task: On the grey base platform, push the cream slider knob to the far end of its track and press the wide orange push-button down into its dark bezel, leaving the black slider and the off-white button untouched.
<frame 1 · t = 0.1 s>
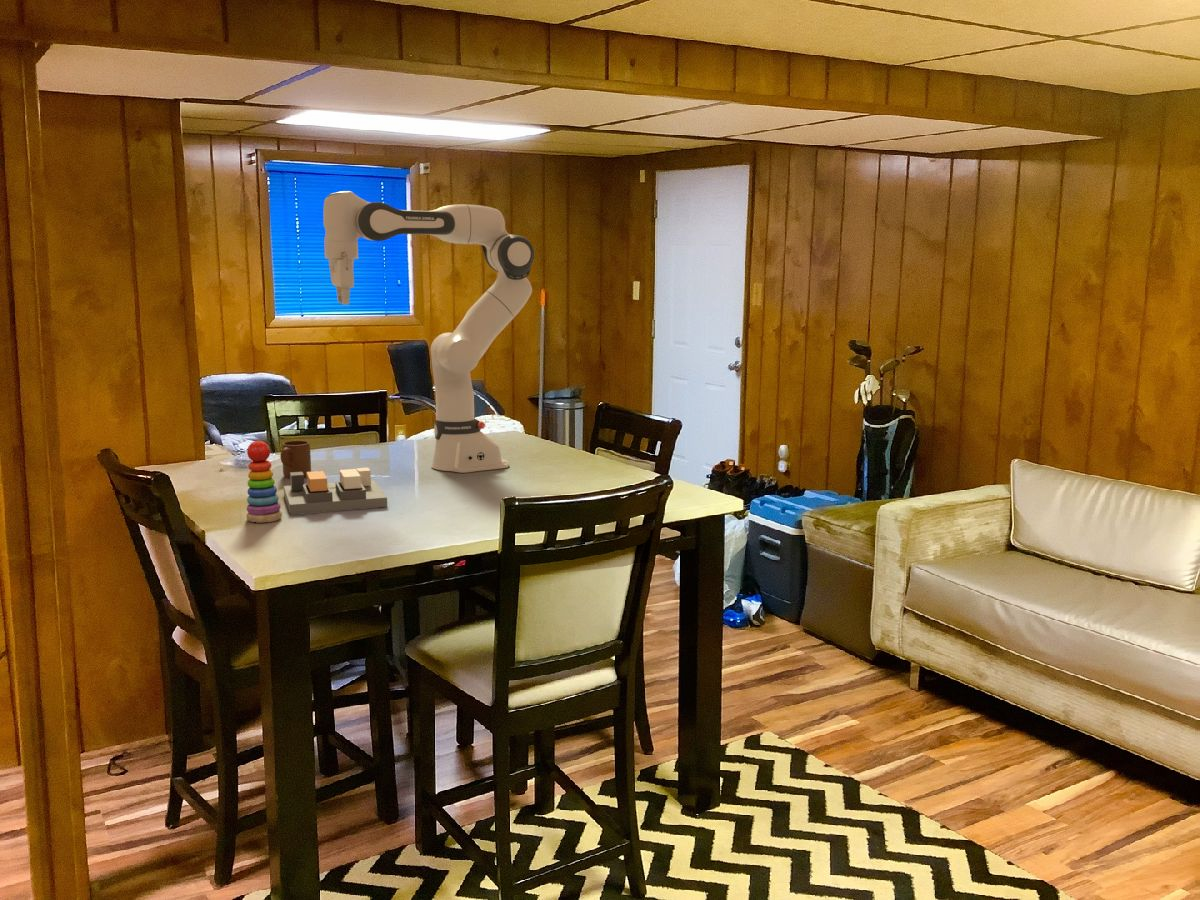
hand: (343, 303, 279), 48 cm above the table, fingers open, 8 cm apart
button c: (316, 481, 249), point 6 cm above the table, slide at 0.0 cm
slider b: (297, 481, 256), point 5 cm above the table, slide at 0.0 cm
stacking toy: (264, 520, 238), on the table
mug: (293, 478, 282), on the table
grey base platform: (334, 501, 256), on the table
slider a: (363, 476, 262), point 5 cm above the table, slide at 0.0 cm
button d: (350, 478, 251), point 6 cm above the table, slide at 0.0 cm
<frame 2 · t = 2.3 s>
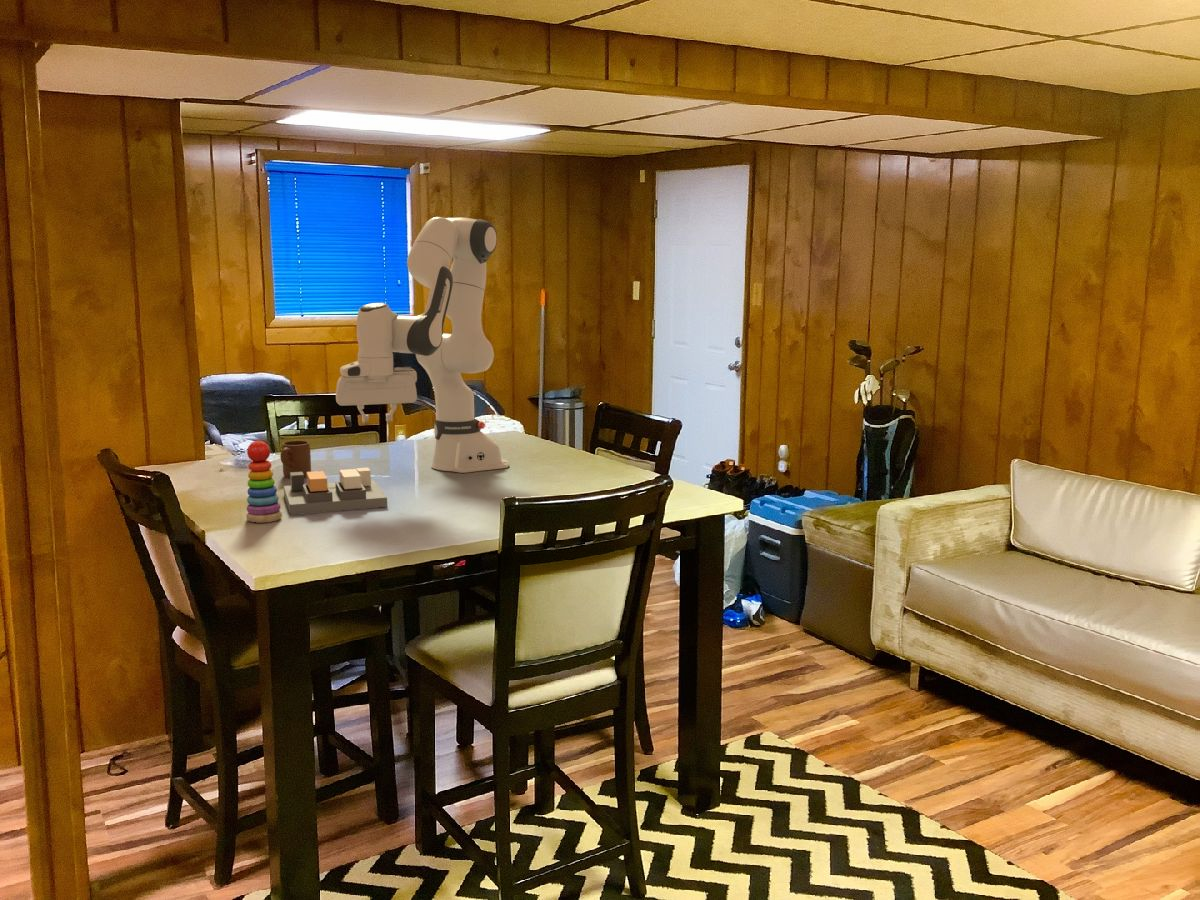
hand: (377, 421, 260), 19 cm above the table, fingers open, 5 cm apart
nothing on the table moved.
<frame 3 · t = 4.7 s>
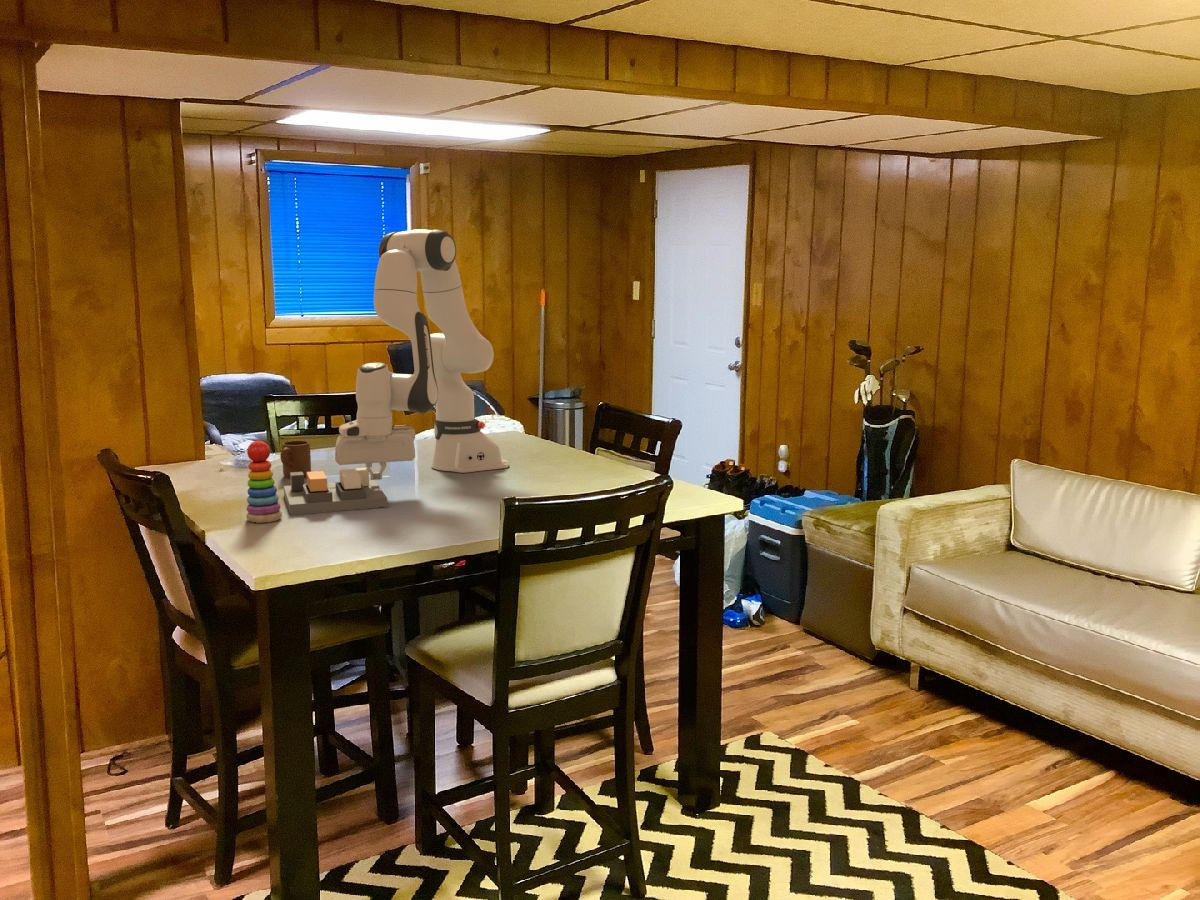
hand: (376, 479, 263), 4 cm above the table, fingers closed
slider a: (362, 477, 261), point 5 cm above the table, slide at 0.4 cm, touching gripper
everything else where it was.
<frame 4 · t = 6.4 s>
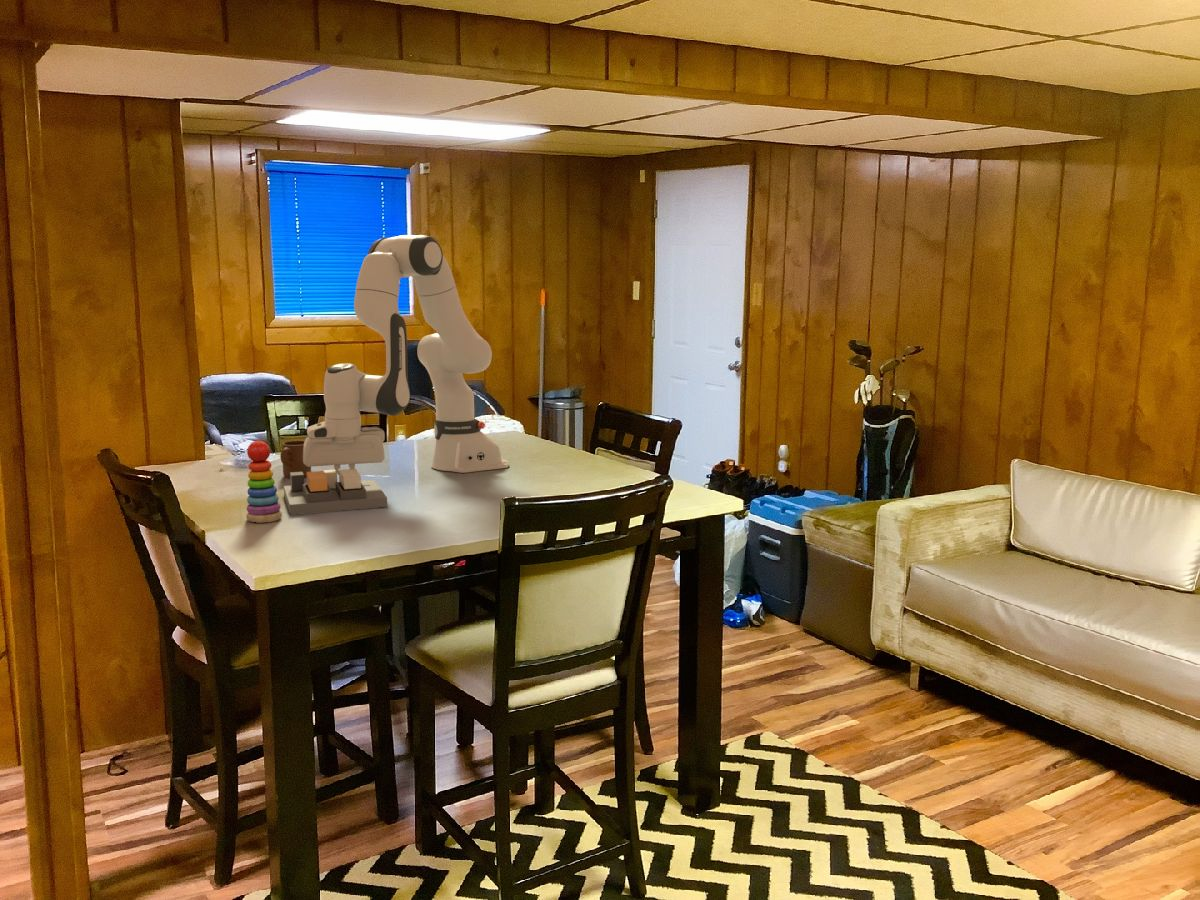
hand: (344, 481, 260), 4 cm above the table, fingers closed
slider a: (330, 479, 259), point 5 cm above the table, slide at 8.3 cm, touching gripper
everything else where it was.
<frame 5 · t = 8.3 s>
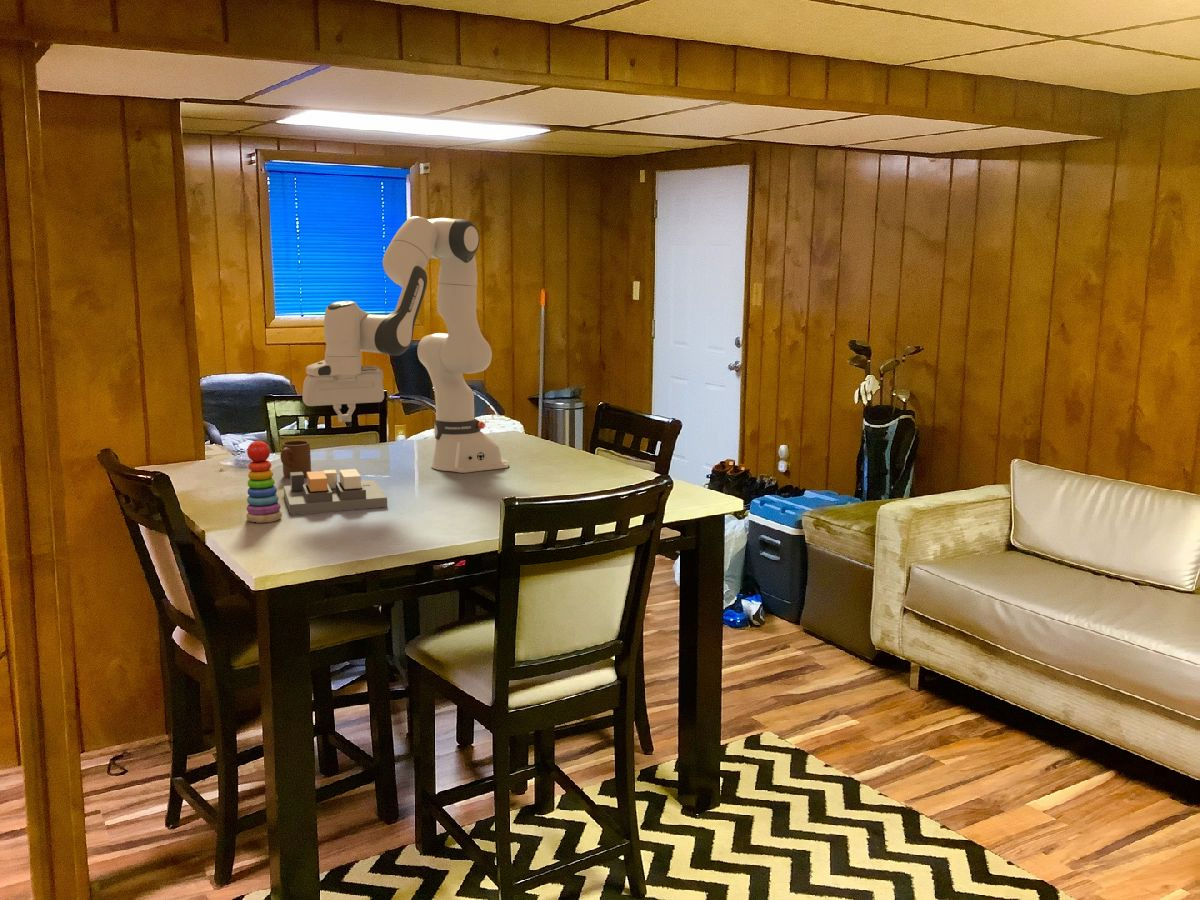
hand: (344, 421, 256), 20 cm above the table, fingers closed
slider a: (330, 479, 259), point 5 cm above the table, slide at 8.4 cm
everything else where it was.
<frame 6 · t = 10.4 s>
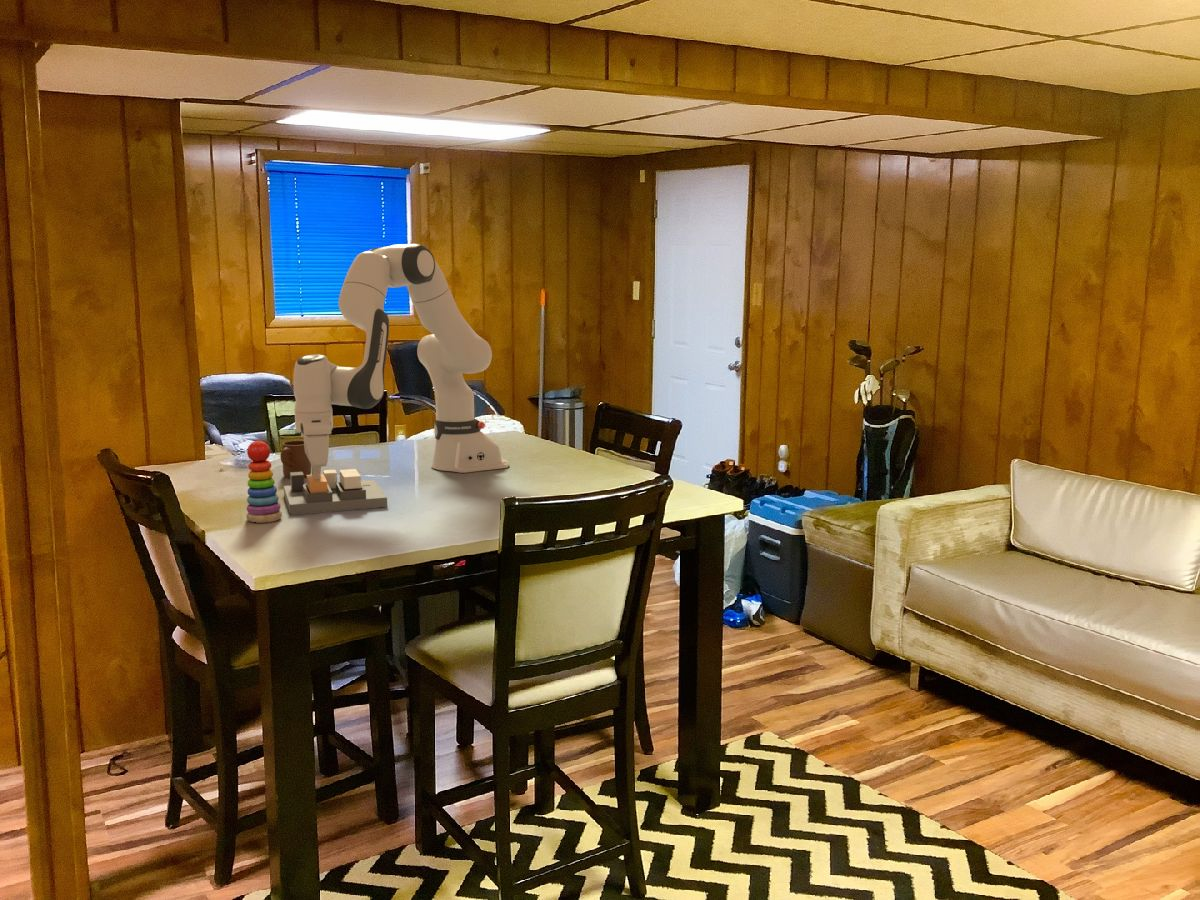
hand: (316, 478, 248), 7 cm above the table, fingers closed, pressing on button c
button c: (317, 484, 249), point 6 cm above the table, slide at 0.8 cm, touching gripper
everything else where it was.
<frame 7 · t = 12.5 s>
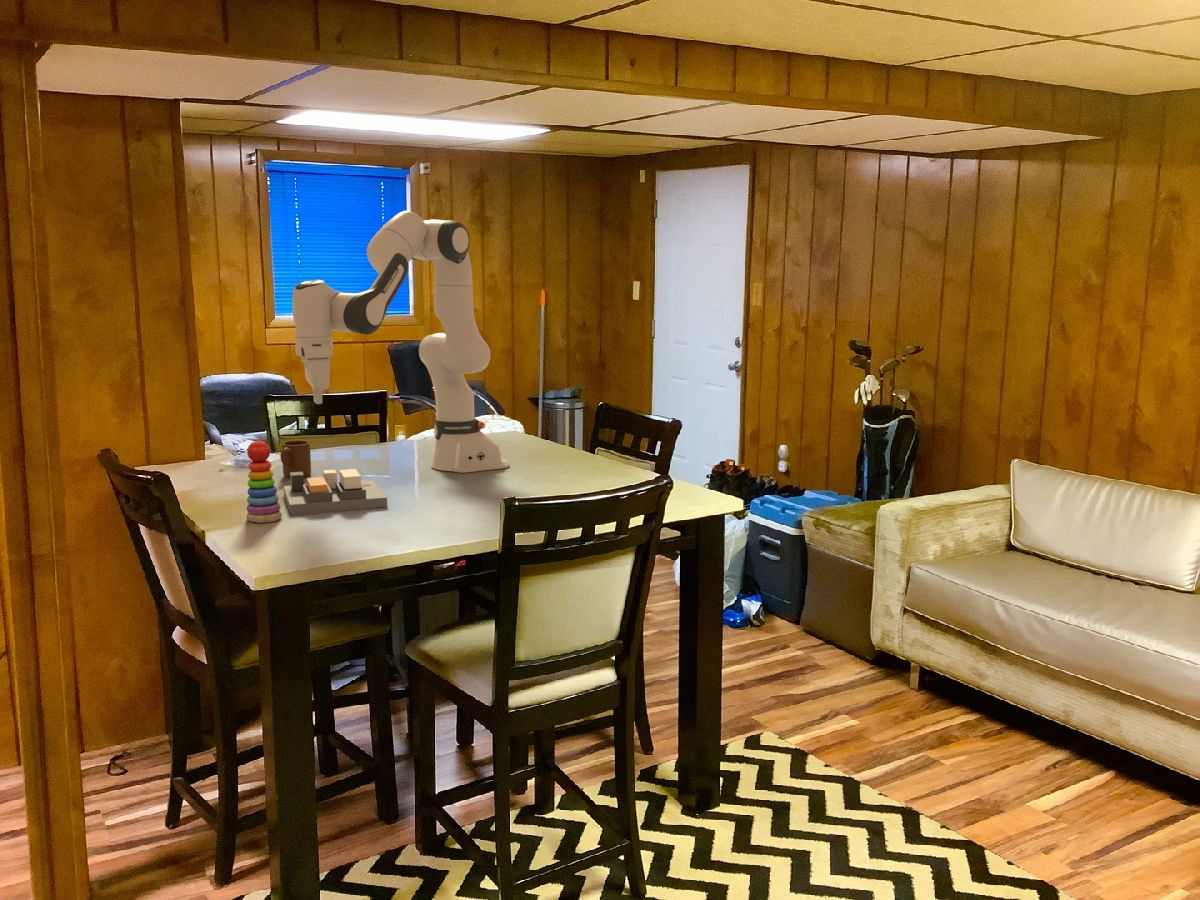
hand: (318, 403, 252), 25 cm above the table, fingers closed
button c: (317, 487, 249), point 5 cm above the table, slide at 1.6 cm
everything else where it was.
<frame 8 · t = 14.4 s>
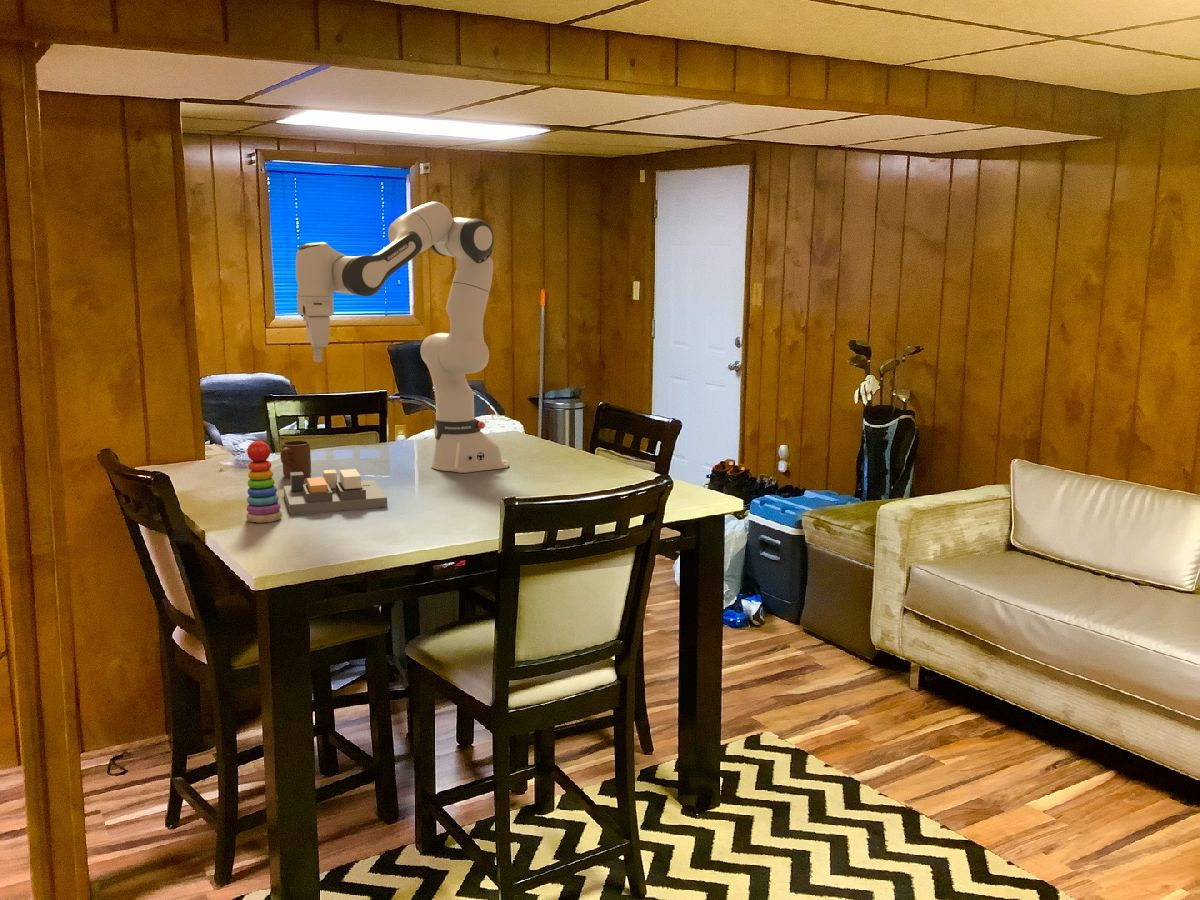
hand: (317, 361, 260), 34 cm above the table, fingers closed
nothing on the table moved.
at the end: slider a slide at 8.4 cm; button c slide at 1.6 cm; slider b slide at 0.0 cm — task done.
